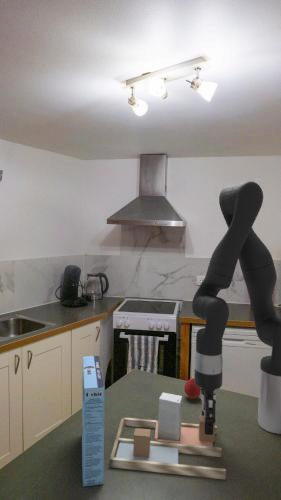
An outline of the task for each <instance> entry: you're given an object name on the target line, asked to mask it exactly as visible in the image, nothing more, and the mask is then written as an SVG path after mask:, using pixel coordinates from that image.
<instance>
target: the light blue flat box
mask: <svg viewBox="0 0 281 500" xmlns="http://www.w3.org/2000/svg"><path fill="white" fill-rule="evenodd" d="M105 390H106V388H105V383H104V378H103V371H102V365H101V358H100V355H89V356H88V355H87V356H83V357H82V393H81V394H82V395H81V398H82V399H81V402H82V404H81V405H82V406H81V407H82V408H81V411H82V412H81V417H82V418H81V421H82V422H81V429H82V430H81V433H82V434H81V447H82V448H81V450H82V451H81V457H82V460H81V461H82V467H81V468H82V487H91V486H98V485H100V486H101V485H103V484H104V475H105V474H104V472H105V471H104V469H105V468H104V467H105V465H104V464H105V459H104V458H105V456H104V455H105V393H106V392H105Z"/></svg>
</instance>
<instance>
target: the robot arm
mask: <svg viewBox="0 0 281 500" xmlns="http://www.w3.org/2000/svg"><path fill="white" fill-rule="evenodd" d="M263 201H264V192H263V189H262V188H261V186H260V185H259V184H258V183H257V182H255V181H249V180H248V181H243V182H238V183H233V184H229V185H226V186H224V187H223V188H222V189H221V191H220V193H219V196H218V202H219V203H218V204H219V208H220V210H221V213H222V216H223V219H224V221H225V223H226V226H227V228H228V229H227V231H226V232H225V234H224V236H223V237H222V239H220V241H219V243H218V244H217V246H216V247H215V249H214V250H213V252H212V255H211V257H210V259H209V264H208V266H207V270H206V274H205V277H204V278H203V280H202V282H201V283H200V284H199V286H198V288H197V290H196V292H195V294H194V296H193V298H192V304H191V310H192V313H193V314H194V315H195V317H197V318H199V319H201V320H204V321H205V326H204V327H202V328H199V329H198V330H197V332H196V338H195V354H194V376H193V377H194V382H195V384H196V385H197V386H198V387H200V395H199V396H200V400H201V415H203V416H204V419H205V434H206V435H213V423H215V424H216V422H217V421H216V410H217V407H216V404H217V400H216V399H217V393H216V390H218V389H219V390H220V388H221V387H222V386H223V366H224V365H223V364H224V363H223V362H224V359H223V337H224V335H225V333H226V332H225V331H226V328H227V325H228V321H229V318H230V317H229V316H230V309H229V305H228V303H227V301H226V300H225V299H223V298H222V297H219V296H218V295H219V293H220V291H222V290H227V289H229V287H231V284H232V281H233V278H234V274H235V271H236V267H237V264H238V262H239V266H240V271H241V273H242V277H243V280H244V283H245V286H246V289H247V290H246V291H247V294H248V298H249V300H250V305H251V309H252V315H253V321H254V326H255V332H256V334H257V337H258V339H259V340H260V342H262V343H263V344H265V345H267V346H269V347H271V355H266V356H263V357H261V360H260V367H259V386H258V406H257V407H258V410H257V424H258V426H260V428H262V429H263V430H264V431H267V432H269V433H272V434H276V435H281V317H279V316H278V315H277V313H276V309H275V306H274V302H273V294H274V290H275V287H276V285H277V279H278V277H277V270H276V267H275V263H274V260H273V257H272V253H271V252H270V250H269V249H268V247H267V245H266V244H265V243H264V242H263V241H262V240H261V238H260V237H259V236H258V235H257V233H256V232H255V231H254V229H253V226H254V223H255V221H256V219H257V217H258V215H259V213H260V211H261V208H262V205H263V204H264V203H263Z"/></svg>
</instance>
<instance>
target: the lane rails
mask: <svg viewBox="0 0 281 500" xmlns="http://www.w3.org/2000/svg"><path fill="white" fill-rule="evenodd" d="M157 420H158V419H157ZM157 420H154V419H146V418H144V419H143V418H134V417H133V418H132V417H123V416H122V417H121V420H120V422H119V426H118V430H117V434H116V436H115V440H114V443H113V447H112V450H111V454H110V457H109V468H114V469H122V470H123V469H124V470H125V469H126V470H133V471H144V472H153V473H162V474H172V475H178V476H179V475H182V476H187V477H189V476H190V477H199V478H206V479H207V478H208V479H218V480H226V479H227V470H226V468H218V467H210V466H200V465H189V464H183V463H182V464H180V463H178V464H173V463H163V462H153V461H144V460H134V459H124V458H116V454H117V451H118V447H119V443H131V444H134V438H124V437H122V434H123V431H124V427H135V428H144V429H156V421H157ZM181 427H189V428H199V423H189V422H187V423H186V422H181ZM217 431H218V426H217V425H215V434H214V435H217ZM150 445H151V446H161V447H171V448H178V454H185V455H187V454H188V455H195V456H196V455H198V456H206V457H207V456H208V457H218V458H222V448H221V447H220V446H219V447H218V446H213V447H209V446H198V445H188V444H178V443H167V442H157V441H155V440H150Z"/></svg>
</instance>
